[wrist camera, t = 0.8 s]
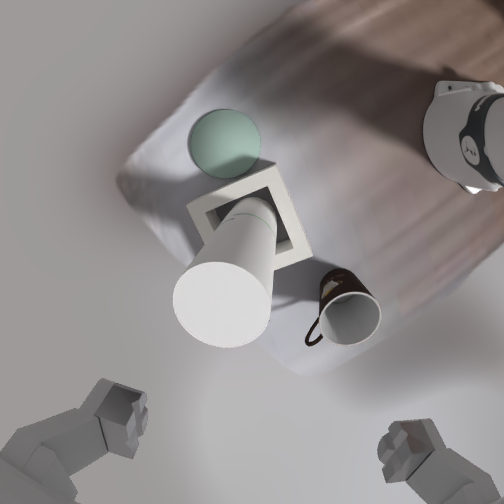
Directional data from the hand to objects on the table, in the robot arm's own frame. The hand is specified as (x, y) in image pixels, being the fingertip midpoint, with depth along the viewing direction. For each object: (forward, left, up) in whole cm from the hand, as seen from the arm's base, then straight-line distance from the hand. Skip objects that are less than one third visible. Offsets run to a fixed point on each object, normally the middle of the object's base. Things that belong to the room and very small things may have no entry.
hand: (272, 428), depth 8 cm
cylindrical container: (+5, +1, -38) cm, 38 cm away
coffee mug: (-2, +16, -38) cm, 41 cm away
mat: (+4, -11, -37) cm, 39 cm away
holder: (+5, +1, -37) cm, 38 cm away
